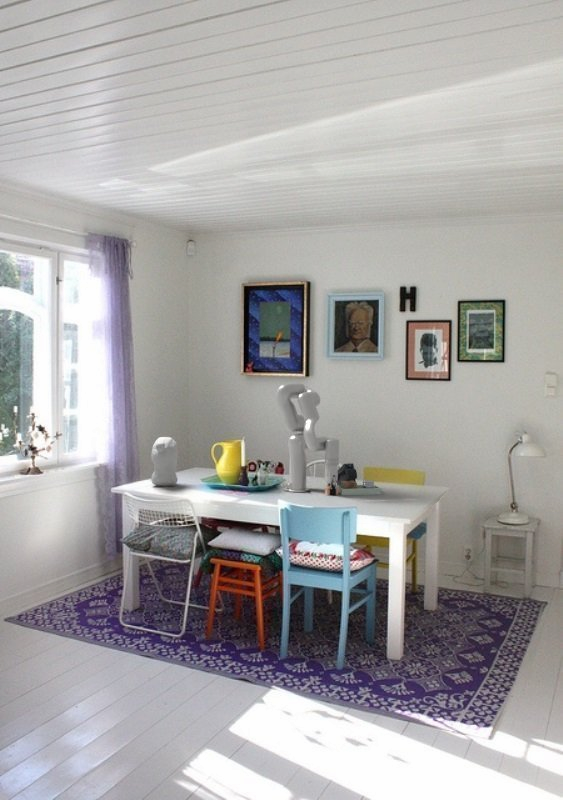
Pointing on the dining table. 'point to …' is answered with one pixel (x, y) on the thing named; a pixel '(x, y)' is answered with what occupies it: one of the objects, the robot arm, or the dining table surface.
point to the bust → (164, 462)
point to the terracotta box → (327, 490)
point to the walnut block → (348, 485)
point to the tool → (346, 473)
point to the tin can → (368, 484)
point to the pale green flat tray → (359, 490)
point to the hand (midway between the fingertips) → (331, 494)
